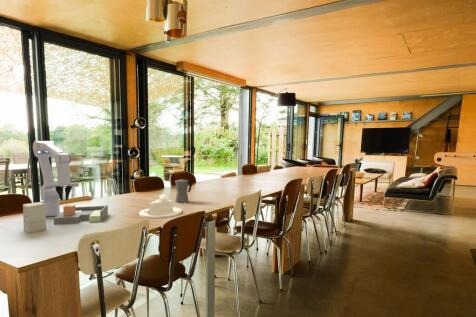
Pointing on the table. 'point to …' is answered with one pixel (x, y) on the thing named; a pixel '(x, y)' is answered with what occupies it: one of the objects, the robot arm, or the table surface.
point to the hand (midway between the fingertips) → (64, 200)
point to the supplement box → (34, 217)
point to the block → (69, 210)
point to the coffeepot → (182, 190)
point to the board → (83, 215)
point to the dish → (161, 208)
